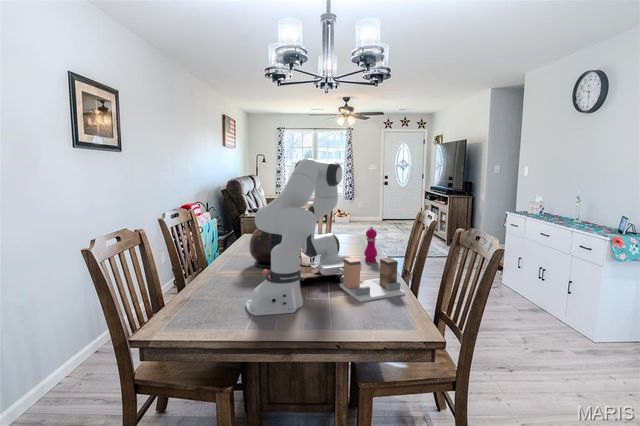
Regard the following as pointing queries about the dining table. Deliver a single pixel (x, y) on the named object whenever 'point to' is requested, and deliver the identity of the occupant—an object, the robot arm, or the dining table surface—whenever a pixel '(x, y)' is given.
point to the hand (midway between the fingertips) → (348, 272)
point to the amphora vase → (263, 247)
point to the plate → (373, 290)
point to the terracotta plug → (352, 272)
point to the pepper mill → (371, 246)
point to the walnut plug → (388, 271)
